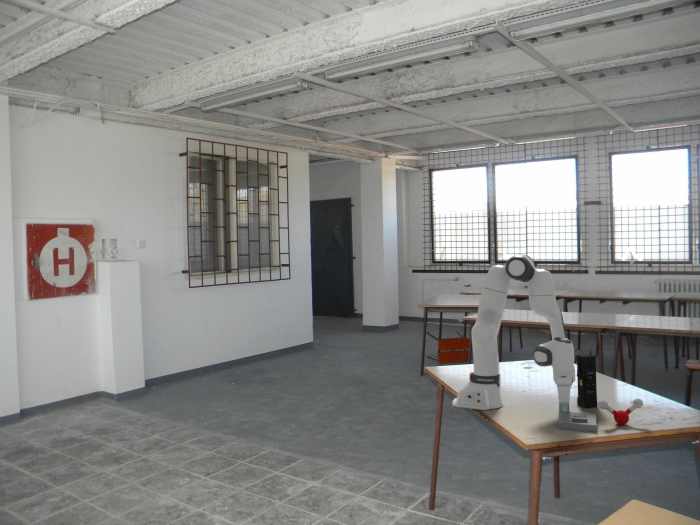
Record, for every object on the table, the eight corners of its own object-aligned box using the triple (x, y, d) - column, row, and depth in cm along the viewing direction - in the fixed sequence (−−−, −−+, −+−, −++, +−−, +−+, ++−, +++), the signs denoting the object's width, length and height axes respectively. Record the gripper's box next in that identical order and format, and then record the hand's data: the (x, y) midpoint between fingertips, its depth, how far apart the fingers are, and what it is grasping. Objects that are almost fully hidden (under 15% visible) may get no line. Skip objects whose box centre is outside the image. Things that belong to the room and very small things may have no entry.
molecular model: (640, 421, 236) (640, 397, 235) (647, 426, 230) (646, 400, 230) (596, 422, 236) (595, 398, 236) (601, 427, 230) (601, 401, 230)
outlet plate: (558, 428, 230) (557, 421, 230) (559, 417, 245) (558, 410, 245) (596, 431, 225) (596, 424, 225) (595, 419, 240) (595, 413, 240)
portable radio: (583, 408, 256) (582, 351, 255) (574, 405, 261) (573, 349, 261) (598, 407, 258) (597, 350, 257) (589, 403, 264) (588, 348, 263)
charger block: (559, 415, 247) (558, 401, 246) (559, 413, 250) (559, 398, 250) (569, 416, 245) (569, 401, 245) (569, 413, 249) (569, 399, 249)
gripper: (557, 371, 258) (558, 402, 258) (555, 381, 239) (556, 415, 239) (572, 371, 255) (574, 403, 255) (571, 381, 236) (573, 416, 236)
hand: (565, 409), depth 247 cm, fingers open, 5 cm apart
